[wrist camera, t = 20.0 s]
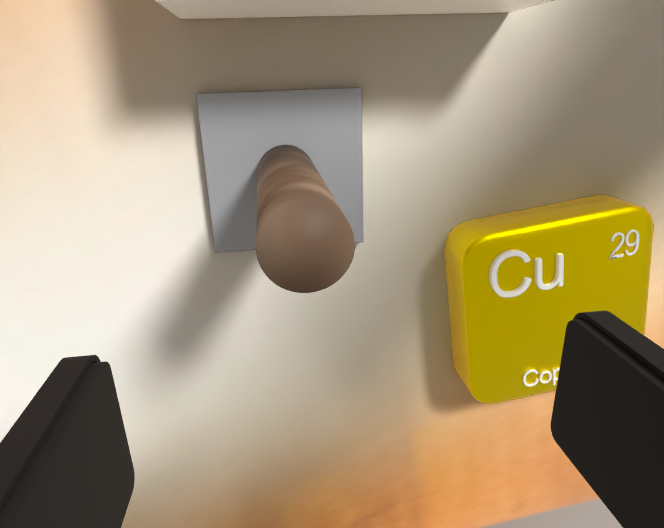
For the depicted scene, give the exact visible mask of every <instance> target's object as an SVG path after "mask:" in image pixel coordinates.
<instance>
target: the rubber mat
mask: <svg viewBox="0 0 664 528" xmlns="http://www.w3.org/2000/svg"><path fill="white" fill-rule="evenodd" d="M196 98H197V106H198V114H199V122H200V130H201V138H202V147H203V155H204V163H205V171H206V179H207V187H208V195H209V203H210V212H211V220H212V228H213V236H214V244H215V252H216V253H217V252H231V251H245V250H256V228H257V171H258V165H259V162H260V160H261V158H262V157H263V155H264V154H265V153H266V152H267V151H268V150H270V149H271V148H273V147H276V146H279V145H293V146H296V147H298V148H300V149H302V150H303V151H304V152H305V153H306V154H307V155H308V156H309V157H310V159H311V161H312V162H313V164H314V166H315V167H316V169H317V171H318V172H319V174H320V176H321V177H322V179H323V181H324V182H325V184H326V186H327V187H328V189H329V191H330V192H331V194H332V196H333V197H334V199H335V201H336V202H337V204H338V206H339V207H340V209H341V210H342V212H343V214H344V215H345V217H346V219H347V220H348V222H349V224H350V226H351V228H352V231H353V235H354V241H355V243H357V242H363V170H362V88H339V89H311V90H284V91H257V92H230V93H203V94H196Z"/></svg>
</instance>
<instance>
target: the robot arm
mask: <svg viewBox="0 0 664 528" xmlns="http://www.w3.org/2000/svg"><path fill="white" fill-rule="evenodd" d="M551 431H552V435H553V437H554V440H555V441H556V443H557V444H558V445H559V447H560V448H561V449H562V450H563V452H564V453H565V454H566V456H567V457H568V458H569V459H570V461H571V462H572V463H573V464H574V466H575V467H576V468H577V470H578V471H579V472H580V473H581V475H582V476H583V477H584V478H585V480H586V481H587V482H588V484H589V485H590V486H591V487H592V489H593V490H594V491H595V492H596V494H597V495H598V496H599V498H600V499H601V500H602V501H603V502H604V504H605V505H606V506H607V508H608V509H609V510H610V511H611V513H612V514H613V515H614V516H615V518H616V519H617V520H618V522H619V523H620V524H621V526H622V527H623V528H664V349H663V348H661V347H660V346H658V345H657V344H655V343H654V342H653V341H651V340H650V339H648V338H647V337H645V336H644V335H642V334H641V333H640V332H638V331H637V330H635V329H634V328H632V327H631V326H629V325H628V324H627V323H625V322H624V321H622V320H621V319H619V318H618V317H616V316H615V315H614V314H612V313H611V312H609V311H593V312H581V313H578V314H576V315H575V317H574V318H573V320H571V321H569V322H568V324H567V326H566V331H565V338H564V344H563V350H562V356H561V363H560V369H559V375H558V382H557V388H556V394H555V400H554V407H553V413H552V419H551ZM133 488H134V468H133V464H132V459H131V455H130V451H129V446H128V442H127V437H126V433H125V429H124V424H123V420H122V415H121V411H120V406H119V402H118V398H117V393H116V389H115V384H114V380H113V375H112V371H111V367H110V365H109V363H108V362H100V359H99V358H98V356H96V355H90V356H78V357H67V358H63V359H62V360H61V361H60V362H59V363H58V365H57V366H56V367H55V369H54V370H53V372H52V373H51V374H50V376H49V377H48V378H47V380H46V381H45V383H44V384H43V385H42V387H41V388H40V389H39V391H38V392H37V393H36V395H35V396H34V398H33V399H32V400H31V402H30V403H29V404H28V406H27V407H26V409H25V410H24V411H23V413H22V414H21V415H20V417H19V418H18V420H17V421H16V422H15V424H14V425H13V426H12V428H11V429H10V431H9V432H8V433H7V435H6V436H5V437H4V439H3V440H2V442H1V443H0V528H121V525H122V522H123V519H124V516H125V513H126V510H127V507H128V504H129V501H130V498H131V495H132V492H133Z"/></svg>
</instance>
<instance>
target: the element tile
mask: <svg viewBox="0 0 664 528" xmlns="http://www.w3.org/2000/svg"><path fill="white" fill-rule="evenodd" d="M653 229H654V225H653V220H652V217H651V215H650V213H649V212H648V211H647V210H646V209H645V208H643V207H641V206H638V205H635V204H632V203H629V202H626V201H623V200H620V199H617V198H614V197H610V196H606V195H595V196H590V197H585V198H580V199H575V200H570V201H565V202H559V203H554V204H549V205H544V206H539V207H534V208H529V209H523V210H518V211H513V212H508V213H503V214H498V215H493V216H488V217H482V218H477V219H472V220H468V221H465V222H462V223H461V224H459V225H458V226H456V227H454V228H453V230H452V231H451V232H450V233H449V235H448V237H447V240H446V243H445V249H444V250H445V263H446V275H447V288H448V301H449V313H450V326H451V338H452V351H453V363H454V367H455V370H456V371H457V373H458V374H459V376H460V377H461V379H462V380H463V382H464V383H465V385H466V386H467V388H468V389H469V391H470V392H471V394H472V395H473V397H474V398H475V399H476V400H478V401H479V402H481V403H486V404H495V403H501V402H505V401H510V400H514V399H519V398H523V397H528V396H532V395H537V394H541V393H546V392H550V391H555V390H556V388H557V382H558V375H559V369H560V363H561V356H562V350H563V344H564V338H565V331H566V326H567V324H568V322H569V321H571V320H573V318H574V317H575V315H576V314H578V313H581V312H593V311H609V312H611V313H612V314H614V315H615V316H616V317H618V318H619V319H621V320H622V321H624V322H625V323H627V324H628V325H629V326H631V327H632V328H634V329H635V330H637V331H638V332H640V333H641V334H642V335H644V334H645V322H646V311H647V299H648V287H649V276H650V264H651V252H652V241H653Z"/></svg>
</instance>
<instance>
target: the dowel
mask: <svg viewBox="0 0 664 528" xmlns="http://www.w3.org/2000/svg"><path fill="white" fill-rule="evenodd" d="M354 249H355V241H354V235H353V231H352V228H351V226H350V224H349V222H348V220H347V219H346V217H345V215H344V214H343V212H342V210H341V209H340V207H339V206H338V204H337V202H336V201H335V199H334V197H333V196H332V194H331V192H330V191H329V189H328V187H327V186H326V184H325V182H324V181H323V179H322V177H321V176H320V174H319V172H318V171H317V169H316V167H315V166H314V164H313V162H312V161H311V159H310V157H309V156H308V155H307V154H306V153H305V152H304V151H303V150H302V149H300V148H298V147H296V146H293V145H279V146H276V147H273V148H271V149H270V150H268V151H267V152H266V153H265V154H264V155H263V157H262V158H261V160H260V162H259V165H258V171H257V228H256V252H257V258H258V261H259V264H260V266H261V268H262V270H263V272H264V273H265V274H266V276H267V277H268V278H269V279H270V280H271V281H272V282H273V283H275V284H276V285H278V286H280V287H282V288H284V289H286V290H289V291H293V292H299V293H310V292H316V291H319V290H322V289H325V288H327V287H329V286H331V285H332V284H334V283H335V282H337V281H338V280H339V279H340V278H341V277H342V276H343V275H344V274H345V272H346V271H347V269H348V268H349V266H350V264H351V262H352V259H353V255H354Z"/></svg>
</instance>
